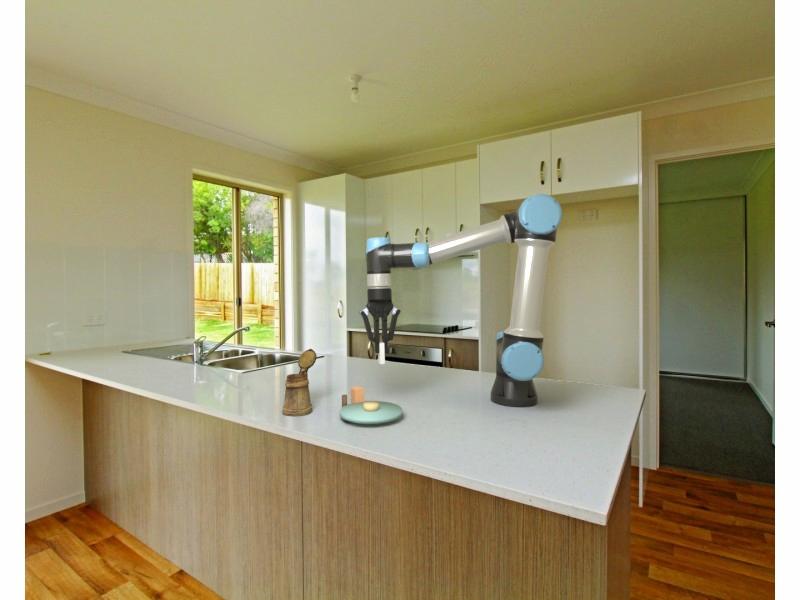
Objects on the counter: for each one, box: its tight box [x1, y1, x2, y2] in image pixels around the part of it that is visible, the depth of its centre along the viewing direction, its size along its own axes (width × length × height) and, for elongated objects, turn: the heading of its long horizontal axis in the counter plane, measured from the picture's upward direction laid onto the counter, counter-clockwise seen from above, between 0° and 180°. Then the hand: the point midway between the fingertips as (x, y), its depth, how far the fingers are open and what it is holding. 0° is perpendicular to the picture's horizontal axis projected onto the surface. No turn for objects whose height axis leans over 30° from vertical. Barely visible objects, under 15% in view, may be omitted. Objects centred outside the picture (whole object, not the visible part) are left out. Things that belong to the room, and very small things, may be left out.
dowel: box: [341, 394, 348, 408], centre depth 132 cm, size 2×2×5 cm
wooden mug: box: [281, 348, 318, 417], centre depth 133 cm, size 9×14×18 cm, turn 163°
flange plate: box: [339, 385, 403, 425], centre depth 127 cm, size 18×21×5 cm
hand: (381, 363), depth 136 cm, fingers closed
